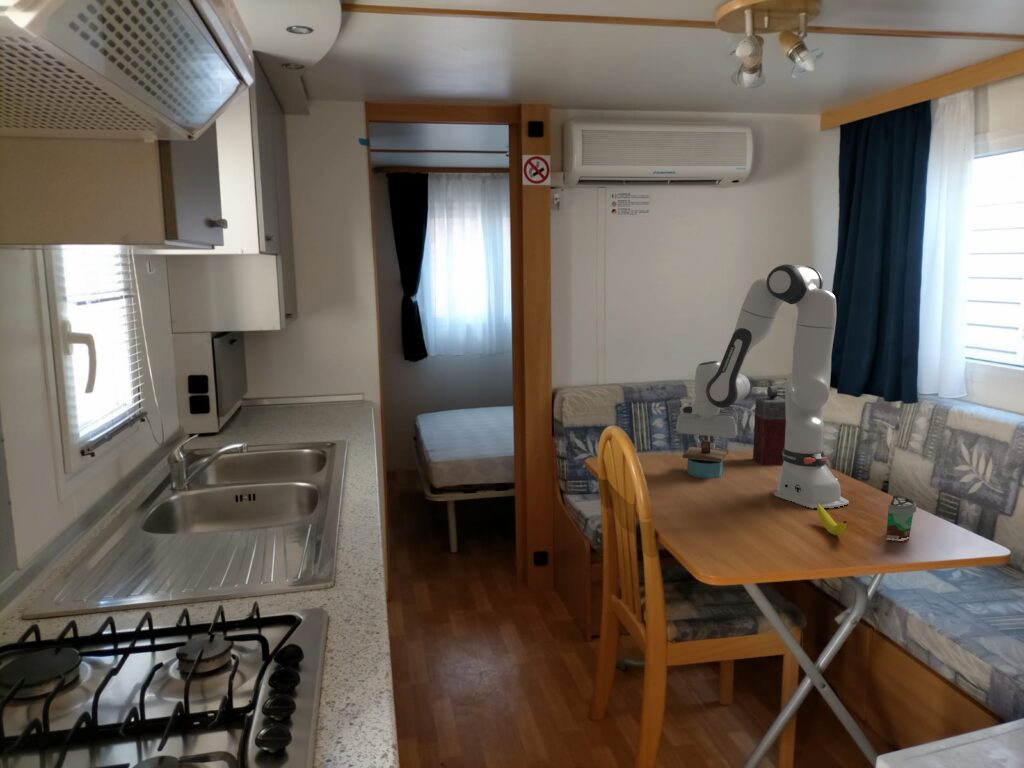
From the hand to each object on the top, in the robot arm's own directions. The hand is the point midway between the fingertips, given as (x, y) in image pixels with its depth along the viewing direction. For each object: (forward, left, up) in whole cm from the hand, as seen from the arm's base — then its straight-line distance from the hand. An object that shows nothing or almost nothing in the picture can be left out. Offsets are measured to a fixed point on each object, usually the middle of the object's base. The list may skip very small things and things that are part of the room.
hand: (705, 447), depth 258 cm
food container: (-69, -18, -9) cm, 72 cm away
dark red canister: (+6, -31, -9) cm, 33 cm away
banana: (-60, -3, -9) cm, 61 cm away
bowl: (0, 0, -9) cm, 9 cm away
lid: (0, 0, -3) cm, 3 cm away
